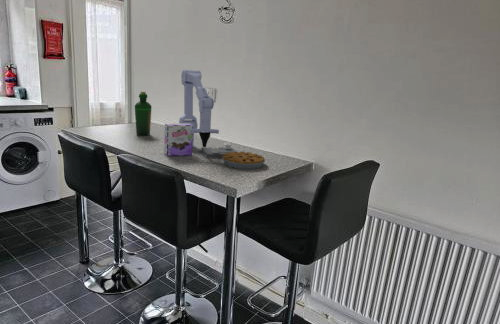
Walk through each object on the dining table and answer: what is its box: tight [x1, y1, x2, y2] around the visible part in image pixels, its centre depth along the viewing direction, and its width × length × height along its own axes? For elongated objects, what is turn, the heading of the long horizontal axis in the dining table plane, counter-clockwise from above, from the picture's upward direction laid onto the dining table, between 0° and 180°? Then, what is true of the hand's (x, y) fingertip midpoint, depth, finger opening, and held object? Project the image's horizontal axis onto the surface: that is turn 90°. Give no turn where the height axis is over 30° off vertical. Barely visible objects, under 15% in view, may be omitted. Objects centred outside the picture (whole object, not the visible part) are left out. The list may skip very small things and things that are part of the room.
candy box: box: [163, 122, 193, 157], centre depth 179 cm, size 14×6×16 cm, turn 117°
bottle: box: [134, 91, 152, 137], centre depth 222 cm, size 11×11×28 cm
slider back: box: [223, 142, 232, 149], centre depth 194 cm, size 3×4×3 cm
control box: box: [200, 146, 238, 159], centre depth 189 cm, size 18×16×2 cm
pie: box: [221, 151, 266, 170], centre depth 173 cm, size 22×22×5 cm
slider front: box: [211, 145, 219, 153], centre depth 183 cm, size 3×4×3 cm
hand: (204, 146), depth 181 cm, fingers closed
